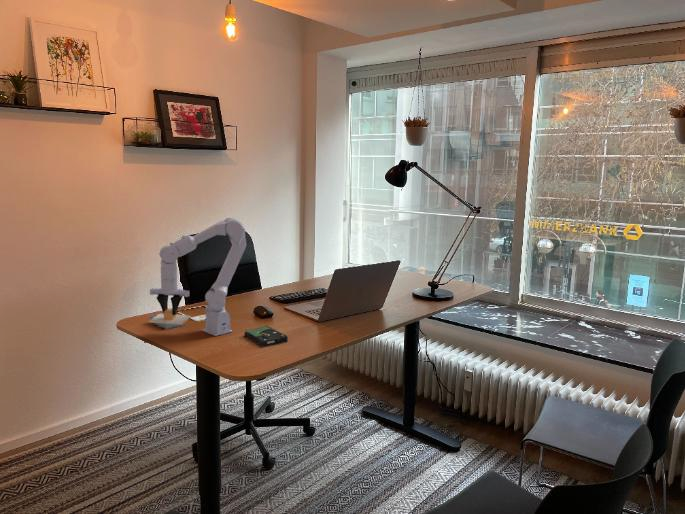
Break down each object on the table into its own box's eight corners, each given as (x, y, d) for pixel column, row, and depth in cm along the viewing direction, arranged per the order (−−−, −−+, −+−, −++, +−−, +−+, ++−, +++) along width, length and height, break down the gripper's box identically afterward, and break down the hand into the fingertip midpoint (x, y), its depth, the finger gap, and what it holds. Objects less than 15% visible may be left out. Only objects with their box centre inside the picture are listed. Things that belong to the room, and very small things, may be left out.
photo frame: (196, 320, 218) (174, 310, 230) (196, 322, 218) (174, 313, 230) (227, 313, 228) (204, 305, 240) (227, 316, 228) (204, 307, 240)
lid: (190, 317, 203) (190, 308, 202) (181, 324, 194) (181, 315, 194) (159, 315, 204) (159, 306, 203) (149, 322, 196) (148, 313, 195)
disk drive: (288, 343, 197) (267, 332, 208) (288, 336, 197) (267, 325, 208) (263, 348, 191) (243, 337, 202) (264, 341, 190) (243, 329, 201)
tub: (184, 325, 212) (184, 318, 212) (165, 329, 206) (165, 322, 206) (168, 319, 220) (168, 311, 220) (150, 322, 214) (150, 315, 214)
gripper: (192, 277, 200) (193, 312, 202) (155, 275, 201) (156, 310, 204) (184, 281, 193) (185, 317, 195) (146, 279, 194) (147, 315, 197)
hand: (170, 314), depth 199 cm, fingers closed on lid, 3 cm apart
